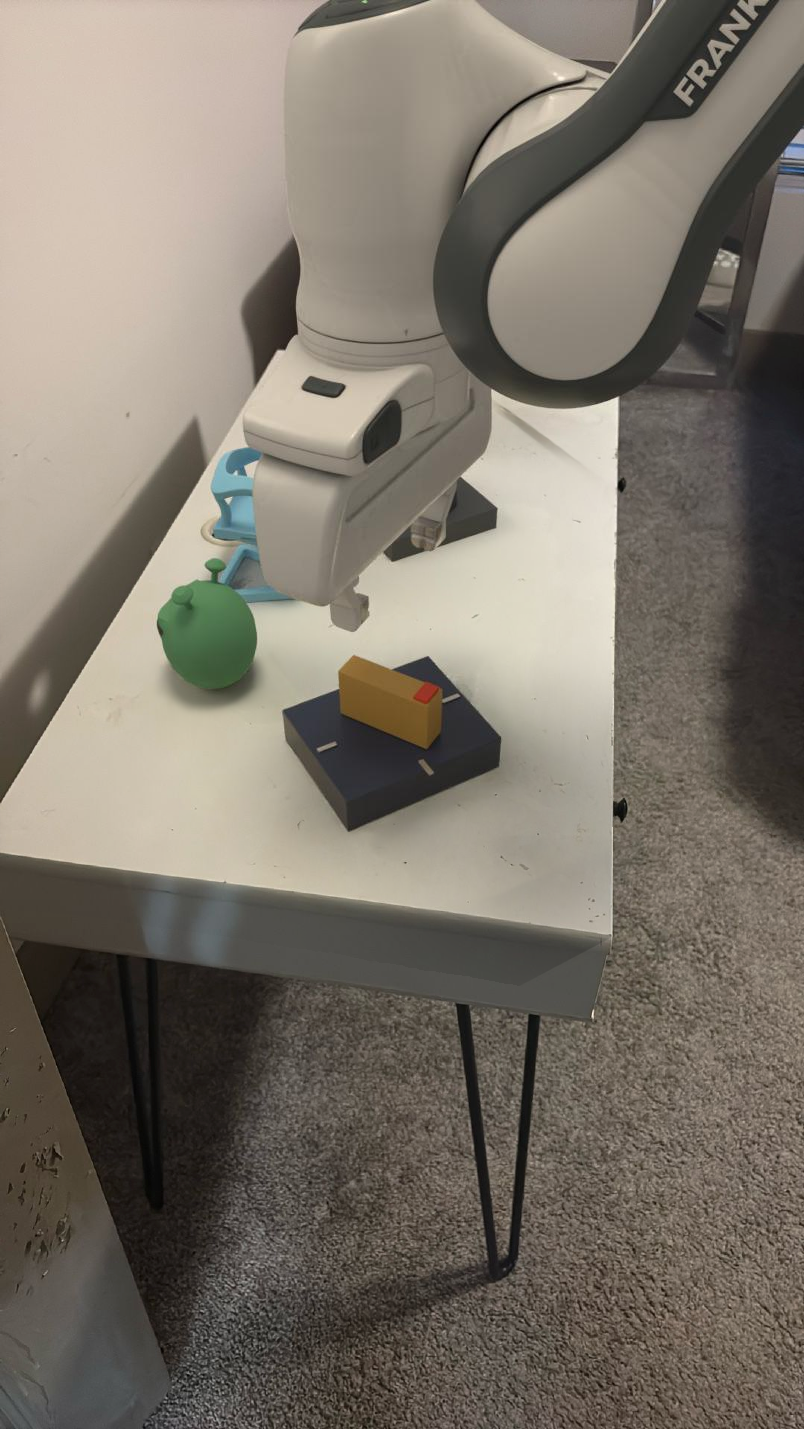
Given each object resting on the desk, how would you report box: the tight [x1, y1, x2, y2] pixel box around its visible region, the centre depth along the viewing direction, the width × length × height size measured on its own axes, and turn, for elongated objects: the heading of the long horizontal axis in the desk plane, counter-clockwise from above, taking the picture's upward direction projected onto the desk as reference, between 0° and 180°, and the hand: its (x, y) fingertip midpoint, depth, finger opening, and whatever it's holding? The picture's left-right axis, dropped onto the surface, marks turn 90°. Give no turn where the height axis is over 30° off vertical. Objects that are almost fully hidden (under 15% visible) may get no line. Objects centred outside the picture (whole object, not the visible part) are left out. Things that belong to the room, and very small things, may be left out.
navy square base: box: [281, 655, 503, 832], centre depth 70 cm, size 12×11×3 cm
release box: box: [382, 475, 498, 563], centre depth 92 cm, size 11×9×4 cm
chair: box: [210, 446, 295, 603], centre depth 82 cm, size 8×8×12 cm
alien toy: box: [156, 557, 258, 690], centre depth 74 cm, size 7×8×10 cm
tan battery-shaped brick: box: [337, 654, 442, 749], centre depth 68 cm, size 7×2×4 cm, turn 59°
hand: (391, 581), depth 62 cm, fingers open, 8 cm apart
